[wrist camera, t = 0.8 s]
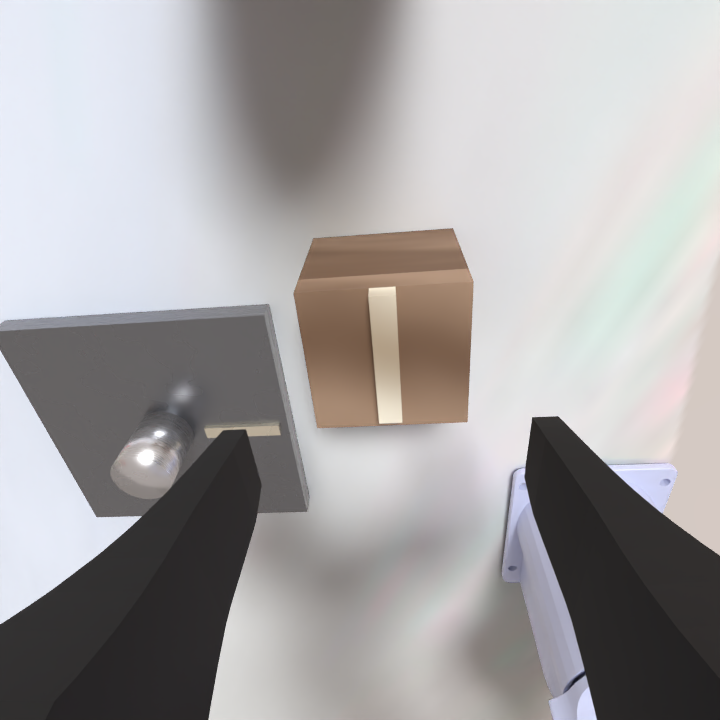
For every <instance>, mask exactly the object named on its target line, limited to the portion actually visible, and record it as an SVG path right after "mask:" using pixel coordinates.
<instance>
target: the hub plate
mask: <svg viewBox="0 0 720 720" xmlns="http://www.w3.org/2000/svg"><path fill="white" fill-rule="evenodd" d="M0 350H1V352H2V354H3V356H4V357H5V359H6V361H7V362H8V364H9V366H10V368H11V369H12V371H13V373H14V375H15V376H16V378H17V380H18V381H19V383H20V385H21V387H22V388H23V390H24V392H25V394H26V395H27V397H28V399H29V401H30V402H31V404H32V406H33V407H34V409H35V411H36V413H37V414H38V416H39V418H40V420H41V421H42V423H43V425H44V427H45V428H46V430H47V432H48V433H49V435H50V437H51V439H52V440H53V442H54V444H55V446H56V447H57V449H58V451H59V453H60V454H61V456H62V458H63V459H64V461H65V463H66V465H67V466H68V468H69V470H70V472H71V473H72V475H73V477H74V479H75V480H76V482H77V484H78V485H79V487H80V489H81V491H82V492H83V494H84V496H85V498H86V499H87V501H88V503H89V505H90V506H91V508H92V510H93V511H94V513H95V515H96V517H120V516H143V515H144V514H145V513H146V512H147V511H148V510H149V509H150V508H151V507H152V506H153V505H154V504H155V503H156V502H157V501H158V500H159V499H160V498H161V497H162V496H163V495H164V494H165V493H166V492H167V491H168V490H169V489H170V488H171V487H172V486H173V485H174V484H175V483H176V482H177V480H178V479H179V478H180V477H181V476H182V475H183V474H184V473H185V472H186V471H187V470H188V469H189V467H190V466H191V465H192V464H193V463H194V462H195V461H196V460H197V459H198V457H199V456H200V455H201V454H202V453H203V452H204V451H205V450H206V448H207V447H208V446H209V445H210V444H211V443H212V442H213V441H214V440H215V439H216V437H217V436H218V435H219V434H220V433H221V432H222V431H223V430H239V429H246V431H247V434H248V438H249V441H250V445H251V448H252V452H253V455H254V459H255V463H256V466H257V470H258V473H259V477H260V480H261V484H262V487H261V494H260V500H259V506H258V512H257V513H272V512H307V509H308V503H309V493H308V488H307V483H306V478H305V474H304V469H303V464H302V459H301V455H300V450H299V445H298V440H297V436H296V431H295V426H294V421H293V417H292V412H291V407H290V402H289V398H288V393H287V388H286V383H285V378H284V374H283V369H282V364H281V359H280V355H279V350H278V345H277V340H276V336H275V331H274V326H273V321H272V317H271V312H270V307H269V304H265V305H249V306H233V307H217V308H201V309H185V310H169V311H152V312H136V313H120V314H104V315H88V316H72V317H56V318H40V319H23V320H7V321H4V322H3V323H1V324H0Z"/></svg>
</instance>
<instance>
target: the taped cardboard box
mask: <svg viewBox="0 0 720 720" xmlns="http://www.w3.org/2000/svg"><path fill="white" fill-rule="evenodd" d="M294 298H295V304H296V310H297V315H298V321H299V327H300V332H301V338H302V344H303V349H304V355H305V361H306V366H307V372H308V378H309V383H310V389H311V395H312V400H313V406H314V412H315V417H316V423H317V428H333V427H357V426H382V425H407V424H432V423H456V422H467V420H468V396H469V373H470V350H471V327H472V304H473V279H472V277H471V274H470V271H469V269H468V266H467V264H466V261H465V258H464V256H463V253H462V251H461V248H460V246H459V243H458V240H457V238H456V235H455V233H454V230H453V228H452V229H438V230H424V231H411V232H397V233H383V234H369V235H356V236H342V237H328V238H314V239H313V241H312V244H311V247H310V249H309V252H308V255H307V258H306V260H305V263H304V266H303V269H302V271H301V274H300V277H299V279H298V282H297V285H296V288H295V290H294Z"/></svg>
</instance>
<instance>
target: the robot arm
mask: <svg viewBox="0 0 720 720" xmlns="http://www.w3.org/2000/svg"><path fill="white" fill-rule="evenodd" d="M677 474H678V472H677V470H676V469H675V467H674V466H673V465H672V464H668V463H663V464H632V465H606V464H605V463H604V462H603V461H602V460H601V459H600V458H599V457H598V456H597V455H596V454H595V453H594V452H593V451H592V450H591V449H590V448H589V447H588V446H587V445H586V444H585V443H584V442H583V441H582V440H581V439H580V438H579V437H578V436H577V435H576V434H575V433H574V432H573V431H572V430H571V429H570V428H569V427H568V426H567V425H566V424H565V423H564V422H563V421H562V420H561V419H560V418H559V417H558V416H556V417H532V424H531V431H530V439H529V446H528V453H527V460H526V468H521V469H518V470H517V471H515V472H514V475H513V482H512V490H511V498H510V507H509V515H508V524H507V532H506V540H505V549H504V557H503V565H502V577H503V580H504V581H506V582H510V583H516V582H520V584H521V588H522V592H523V596H524V600H525V603H526V607H527V611H528V615H529V619H530V623H531V627H532V631H533V635H534V639H535V642H536V646H537V650H538V654H539V658H540V662H541V666H542V670H543V674H544V677H545V680H546V682H547V685H548V688H549V690H550V692H551V694H552V696H553V697H554V698H553V699H550V700H549V701H548V702H549V706H550V710H551V714H552V718H553V720H720V556H719V555H718V554H717V553H715V552H714V551H712V550H711V549H709V548H708V547H706V546H705V545H703V544H702V543H700V542H699V541H698V540H697V539H695V538H694V537H693V536H691V535H690V534H688V533H687V532H686V531H684V530H683V529H682V528H680V527H679V526H678V525H676V524H675V523H674V522H672V521H671V520H670V519H669V518H667V517H666V516H665V515H663V511H664V509H665V506H666V503H667V501H668V498H669V495H670V493H671V490H672V488H673V485H674V482H675V480H676V477H677ZM523 483H525V484H523ZM521 484H522V485H521ZM261 487H262V484H261V480H260V477H259V473H258V470H257V466H256V463H255V459H254V455H253V452H252V448H251V445H250V441H249V438H248V434H247V431H246V429H239V430H223V431H222V432H221V433H220V434H219V435H218V436H217V437H216V439H215V440H214V441H213V442H212V443H211V444H210V445H209V446H208V447H207V448H206V450H205V451H204V452H203V453H202V454H201V455H200V456H199V457H198V459H197V460H196V461H195V462H194V463H193V464H192V465H191V466H190V467H189V469H188V470H187V471H186V472H185V473H184V474H183V475H182V476H181V477H180V478H179V479H178V480H177V482H176V483H175V484H174V485H173V486H172V487H171V488H170V489H169V490H168V491H167V492H166V493H165V494H164V495H163V496H162V497H161V498H160V499H159V500H158V501H157V502H156V503H155V504H154V505H153V506H152V507H151V508H150V509H149V510H148V511H147V512H146V513H145V514H144V515H143V516H142V517H141V518H140V519H139V520H138V521H137V522H136V523H135V524H134V525H133V526H131V527H130V528H129V529H128V530H127V531H126V532H125V533H124V534H122V535H121V536H120V537H119V538H118V539H117V540H115V541H114V542H113V543H112V544H111V545H110V546H108V547H107V548H106V549H105V550H104V551H102V552H101V553H100V554H99V555H98V556H96V557H95V558H94V559H93V560H91V561H90V562H89V563H87V564H86V565H85V566H83V567H82V568H81V569H79V570H78V571H77V572H75V573H74V574H73V575H71V576H70V577H69V578H67V579H66V580H65V581H63V582H62V583H61V584H59V585H58V586H57V587H55V588H54V589H53V590H51V591H50V592H48V593H47V594H46V595H44V596H43V597H41V598H40V599H38V600H37V601H35V602H34V603H32V604H31V605H30V606H28V607H27V608H25V609H23V610H22V611H20V612H19V613H17V614H16V615H14V616H13V617H11V618H10V619H8V620H7V621H5V622H4V623H2V624H0V720H208V718H209V712H210V706H211V700H212V695H213V689H214V684H215V678H216V672H217V667H218V662H219V657H220V652H221V647H222V642H223V637H224V632H225V627H226V622H227V618H228V614H229V610H230V607H231V603H232V600H233V596H234V593H235V590H236V587H237V583H238V580H239V577H240V573H241V570H242V567H243V563H244V560H245V557H246V553H247V550H248V547H249V543H250V540H251V537H252V533H253V530H254V526H255V523H256V518H257V512H258V506H259V500H260V494H261Z"/></svg>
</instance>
